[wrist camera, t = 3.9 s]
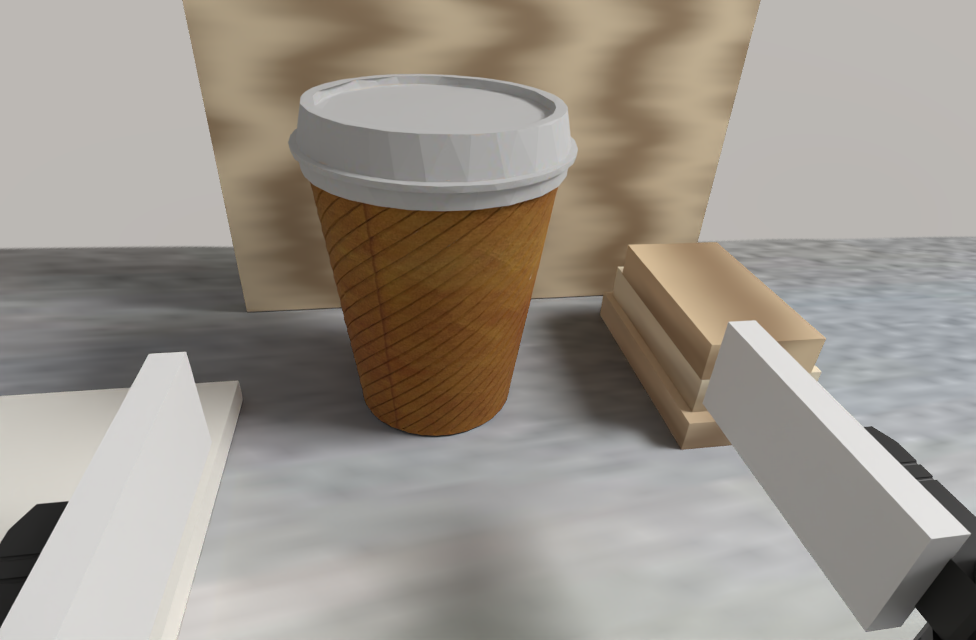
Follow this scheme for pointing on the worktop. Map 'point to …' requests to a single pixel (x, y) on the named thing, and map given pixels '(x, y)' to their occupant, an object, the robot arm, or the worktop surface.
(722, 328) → the offcut stack
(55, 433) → the white square coaster
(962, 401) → the worktop surface
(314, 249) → the pine panel
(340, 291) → the disposable coffee cup
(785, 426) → the robot arm
